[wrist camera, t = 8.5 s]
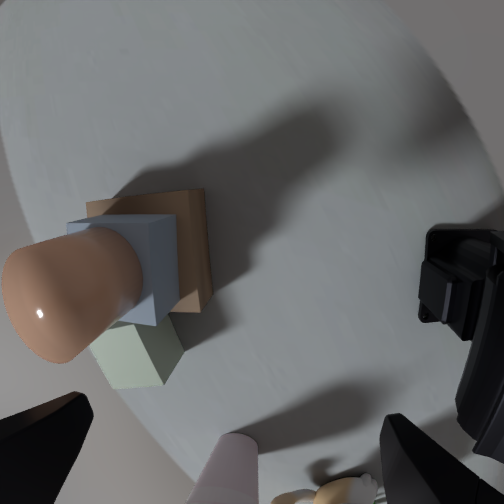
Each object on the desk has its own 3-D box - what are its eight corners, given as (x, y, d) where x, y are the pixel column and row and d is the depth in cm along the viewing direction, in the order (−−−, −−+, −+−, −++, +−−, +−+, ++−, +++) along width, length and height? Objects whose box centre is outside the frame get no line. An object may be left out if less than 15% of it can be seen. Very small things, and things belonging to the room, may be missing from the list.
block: (161, 297, 21) (133, 324, 17) (184, 351, 22) (163, 385, 18) (115, 309, 22) (83, 334, 18) (138, 358, 23) (112, 389, 19)
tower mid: (176, 214, 16) (148, 223, 13) (179, 300, 18) (156, 326, 14) (102, 214, 17) (66, 223, 14) (109, 292, 18) (78, 313, 15)
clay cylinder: (134, 222, 13) (64, 243, 8) (150, 317, 14) (96, 371, 9) (63, 231, 14) (-8, 251, 9) (80, 314, 15) (21, 354, 10)
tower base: (205, 188, 19) (187, 190, 16) (214, 291, 21) (200, 312, 18) (114, 198, 20) (85, 202, 17) (126, 290, 22) (102, 308, 19)
